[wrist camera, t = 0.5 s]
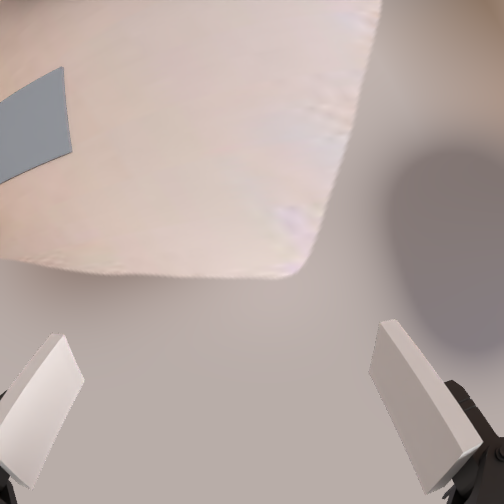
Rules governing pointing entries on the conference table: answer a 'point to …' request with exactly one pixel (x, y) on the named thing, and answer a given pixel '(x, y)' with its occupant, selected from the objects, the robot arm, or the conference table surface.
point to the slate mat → (34, 125)
